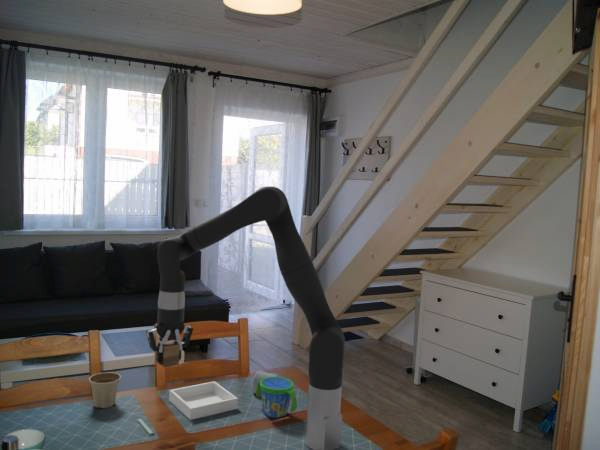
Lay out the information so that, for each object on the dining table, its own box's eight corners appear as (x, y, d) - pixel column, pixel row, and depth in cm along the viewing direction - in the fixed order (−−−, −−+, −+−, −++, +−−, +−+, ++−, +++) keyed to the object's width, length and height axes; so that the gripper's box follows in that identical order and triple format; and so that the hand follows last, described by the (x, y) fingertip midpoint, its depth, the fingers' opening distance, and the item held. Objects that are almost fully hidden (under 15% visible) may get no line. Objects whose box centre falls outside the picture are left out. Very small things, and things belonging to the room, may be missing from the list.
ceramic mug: (275, 400, 172) (276, 377, 172) (251, 397, 173) (252, 374, 173) (282, 389, 182) (283, 367, 182) (259, 386, 184) (260, 365, 183)
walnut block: (178, 364, 151) (179, 344, 151) (163, 367, 149) (164, 346, 148) (172, 359, 155) (173, 340, 154) (158, 362, 152) (159, 342, 152)
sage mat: (183, 426, 149) (183, 425, 149) (149, 435, 144) (149, 433, 143) (169, 413, 157) (169, 412, 157) (137, 421, 152) (137, 419, 151)
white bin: (237, 410, 162) (237, 398, 162) (190, 421, 153) (190, 408, 153) (213, 392, 175) (214, 381, 175) (169, 402, 166) (169, 390, 165)
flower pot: (81, 405, 159) (81, 378, 159) (105, 395, 168) (106, 370, 167) (102, 413, 155) (103, 385, 154) (126, 402, 163) (127, 376, 163)
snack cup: (304, 418, 159) (306, 386, 159) (278, 428, 152) (280, 394, 151) (271, 401, 171) (273, 371, 170) (246, 409, 163) (248, 378, 163)
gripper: (151, 310, 143) (149, 370, 144) (199, 306, 151) (196, 363, 153) (142, 304, 149) (140, 362, 151) (189, 300, 158) (186, 355, 159)
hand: (168, 362), depth 152 cm, fingers closed on walnut block, 4 cm apart
